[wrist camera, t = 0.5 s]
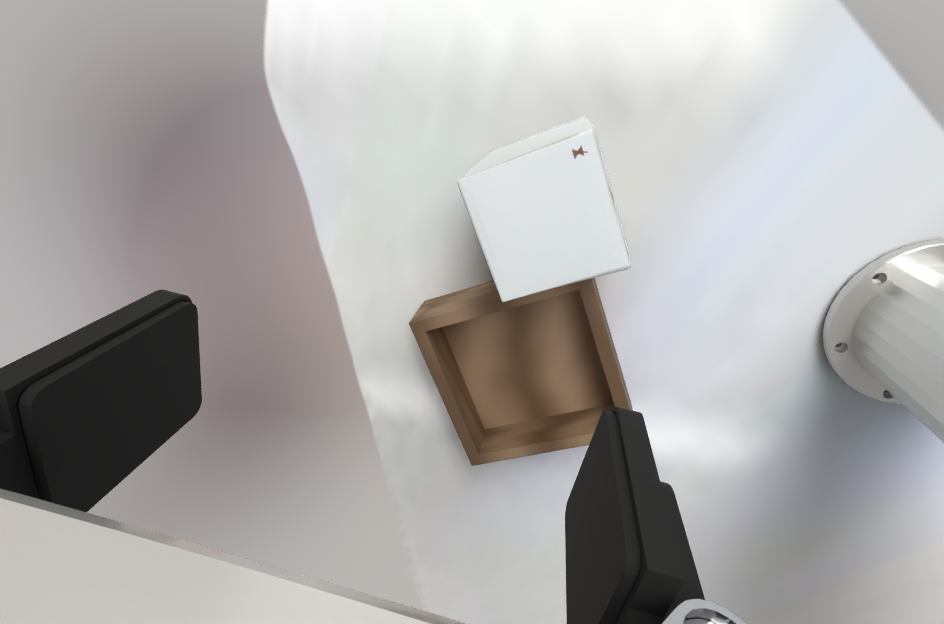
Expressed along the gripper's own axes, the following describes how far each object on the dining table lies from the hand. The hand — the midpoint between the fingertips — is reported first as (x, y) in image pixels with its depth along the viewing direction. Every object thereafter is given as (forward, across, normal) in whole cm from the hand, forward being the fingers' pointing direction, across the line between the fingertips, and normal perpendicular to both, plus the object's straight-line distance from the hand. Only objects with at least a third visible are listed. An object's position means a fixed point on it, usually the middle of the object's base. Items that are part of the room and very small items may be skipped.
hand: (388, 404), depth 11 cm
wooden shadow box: (+29, -5, +13) cm, 32 cm away
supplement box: (+29, -3, -1) cm, 29 cm away
